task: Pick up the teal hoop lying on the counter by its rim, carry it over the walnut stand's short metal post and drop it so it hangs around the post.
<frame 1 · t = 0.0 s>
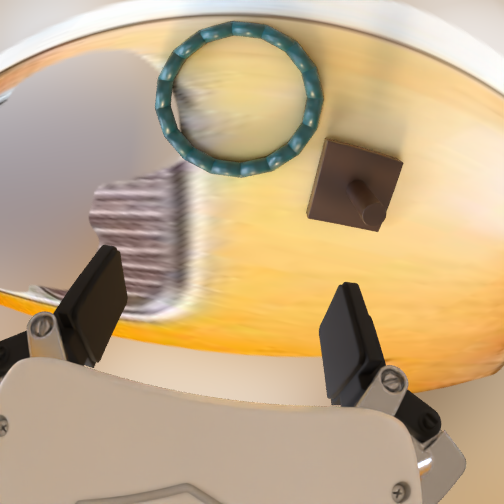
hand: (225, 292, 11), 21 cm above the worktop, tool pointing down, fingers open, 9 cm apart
stand: (353, 185, 30), on the worktop
ring: (236, 98, 24), point 1 cm above the worktop
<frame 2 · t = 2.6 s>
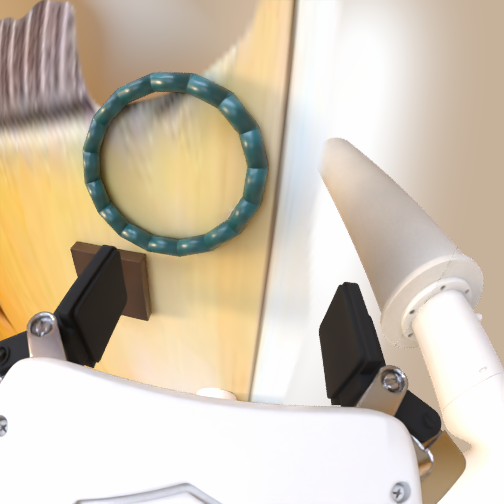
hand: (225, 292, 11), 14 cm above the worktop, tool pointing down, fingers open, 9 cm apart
stand: (114, 278, 30), on the worktop
ring: (165, 171, 22), point 1 cm above the worktop
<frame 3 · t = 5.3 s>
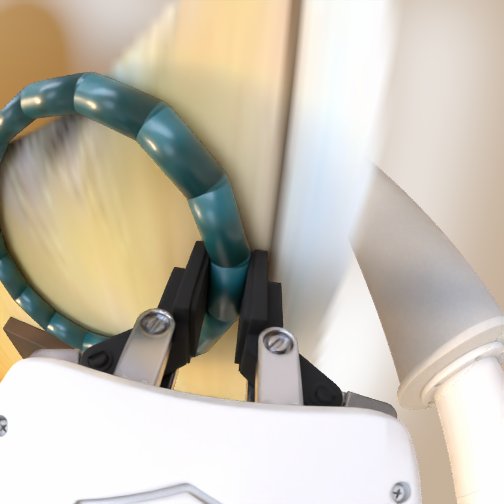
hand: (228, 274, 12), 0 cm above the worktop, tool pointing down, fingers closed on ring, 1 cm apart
stand: (61, 360, 20), on the worktop
ring: (75, 256, 12), point 1 cm above the worktop, touching gripper
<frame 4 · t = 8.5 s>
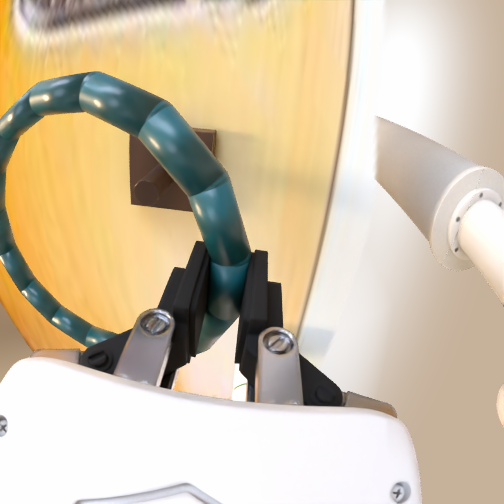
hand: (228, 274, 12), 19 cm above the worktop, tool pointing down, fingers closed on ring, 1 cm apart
stand: (171, 166, 29), on the worktop
ring: (80, 250, 12), point 19 cm above the worktop, touching gripper
cylindrical container: (261, 333, 44), on the worktop
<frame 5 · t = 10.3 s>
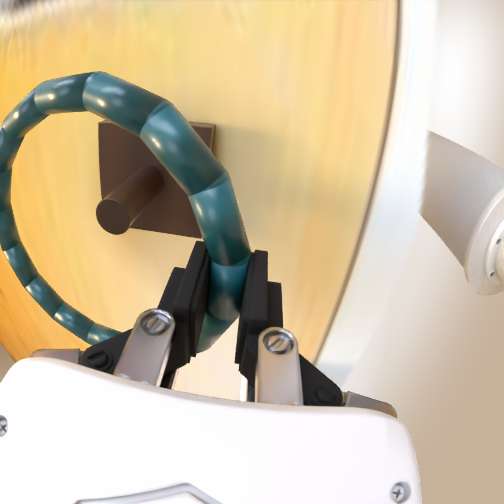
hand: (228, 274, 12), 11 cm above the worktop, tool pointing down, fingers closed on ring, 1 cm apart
stand: (155, 174, 21), on the worktop
ring: (83, 247, 12), point 11 cm above the worktop, touching gripper
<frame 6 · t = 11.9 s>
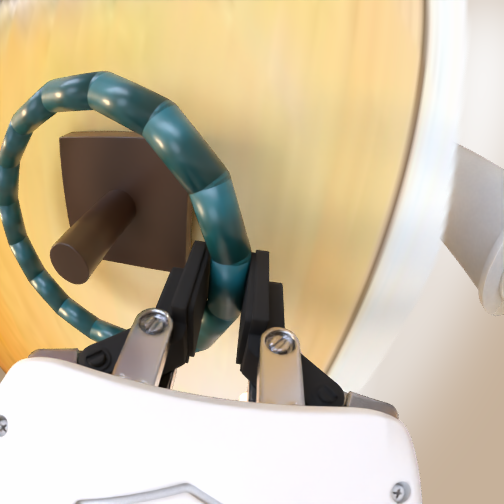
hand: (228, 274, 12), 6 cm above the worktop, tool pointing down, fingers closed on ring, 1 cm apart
stand: (128, 197, 17), on the worktop
ring: (87, 244, 12), point 6 cm above the worktop, tilted 8°, touching gripper
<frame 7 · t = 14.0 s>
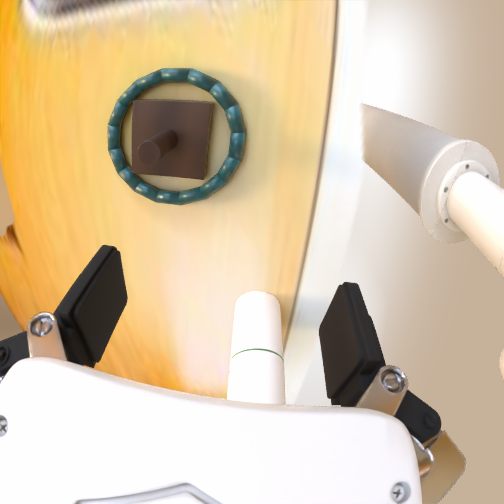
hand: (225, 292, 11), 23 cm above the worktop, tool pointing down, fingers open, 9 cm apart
stand: (171, 136, 30), on the worktop
ring: (171, 138, 29), point 1 cm above the worktop
cylindrical container: (257, 306, 45), on the worktop
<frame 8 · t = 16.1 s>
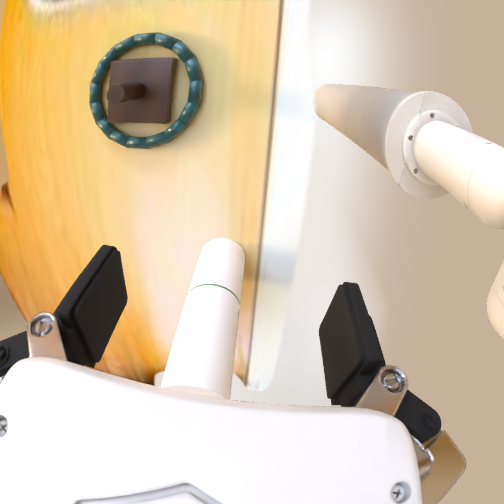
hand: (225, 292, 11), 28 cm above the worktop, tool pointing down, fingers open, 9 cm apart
stand: (141, 89, 31), on the worktop
ring: (141, 90, 30), point 1 cm above the worktop
cylindrical container: (223, 256, 46), on the worktop
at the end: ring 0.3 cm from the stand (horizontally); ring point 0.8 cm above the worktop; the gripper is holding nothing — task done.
